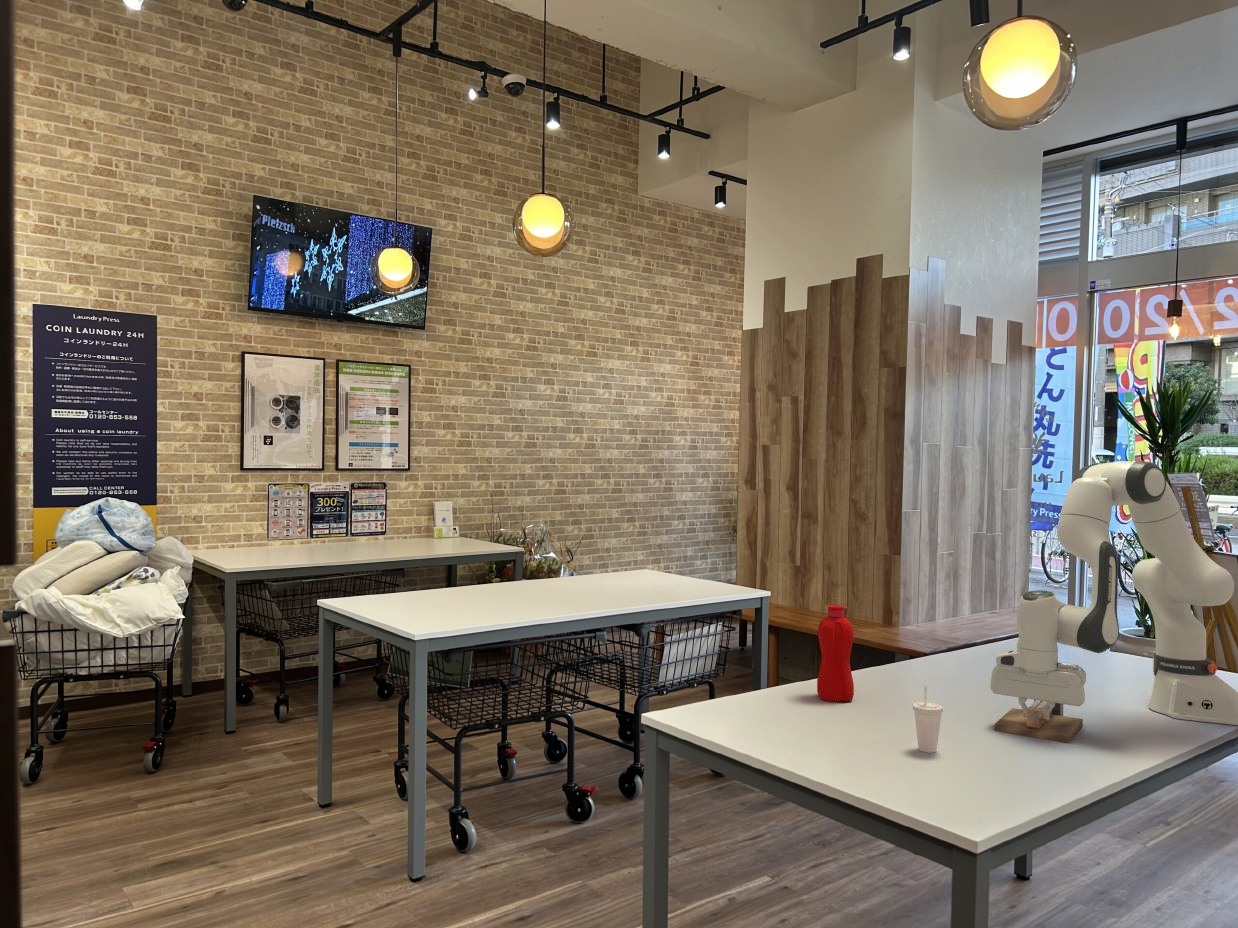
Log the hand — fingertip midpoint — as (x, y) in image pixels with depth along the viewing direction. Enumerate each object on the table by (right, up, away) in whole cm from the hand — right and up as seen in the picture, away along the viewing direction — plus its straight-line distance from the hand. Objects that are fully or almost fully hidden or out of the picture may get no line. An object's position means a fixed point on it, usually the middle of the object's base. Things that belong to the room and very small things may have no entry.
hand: (1036, 718), depth 209 cm
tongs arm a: (+3, -1, +3) cm, 4 cm away
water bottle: (-41, -3, +29) cm, 50 cm away
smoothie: (-31, -3, -15) cm, 35 cm away
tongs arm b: (+2, -1, +3) cm, 4 cm away
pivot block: (+9, -3, +12) cm, 15 cm away
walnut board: (+2, -3, +3) cm, 4 cm away
